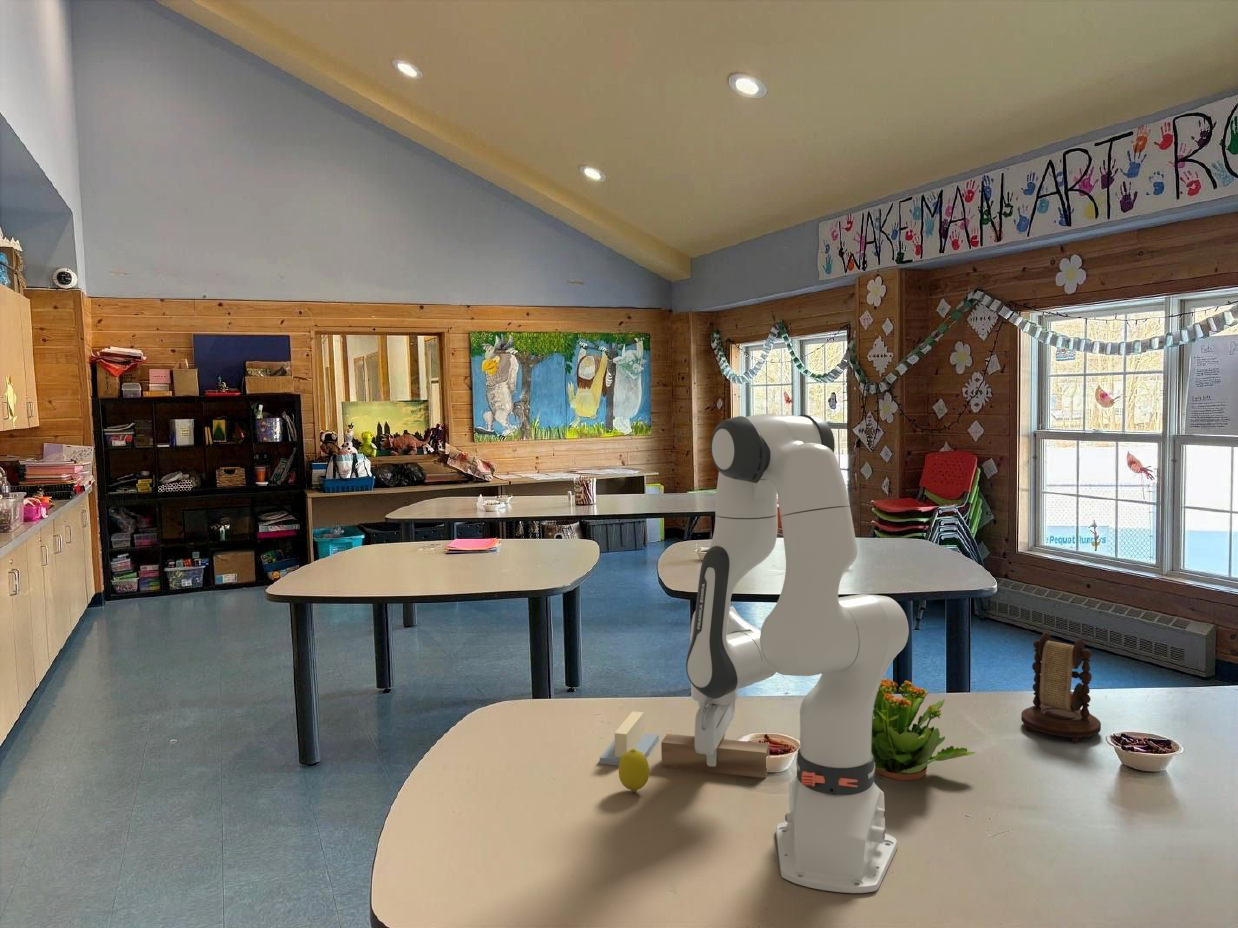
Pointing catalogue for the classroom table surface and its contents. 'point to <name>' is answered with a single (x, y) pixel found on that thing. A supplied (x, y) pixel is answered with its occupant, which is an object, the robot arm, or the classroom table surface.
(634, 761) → the lemon
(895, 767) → the potted flower
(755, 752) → the walnut bar
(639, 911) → the classroom table surface
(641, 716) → the fulcrum
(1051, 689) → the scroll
